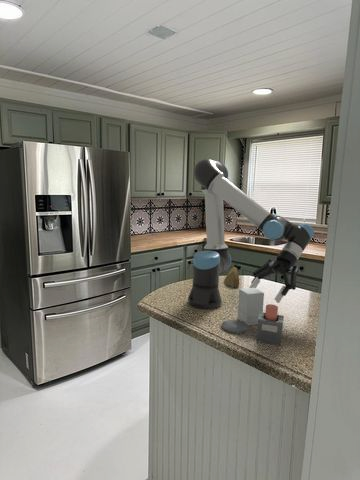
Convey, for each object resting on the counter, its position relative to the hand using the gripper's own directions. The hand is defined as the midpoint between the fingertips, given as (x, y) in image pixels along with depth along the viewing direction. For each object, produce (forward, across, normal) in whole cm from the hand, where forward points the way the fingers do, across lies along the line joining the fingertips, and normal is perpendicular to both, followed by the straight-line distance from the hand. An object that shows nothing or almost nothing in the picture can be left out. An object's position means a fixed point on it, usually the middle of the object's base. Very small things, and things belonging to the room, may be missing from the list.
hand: (262, 296), depth 128 cm
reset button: (+11, -13, +4) cm, 18 cm away
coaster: (+17, 0, +4) cm, 18 cm away
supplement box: (+11, +2, -4) cm, 11 cm away
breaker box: (+15, -13, +1) cm, 20 cm away
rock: (-8, +41, -23) cm, 48 cm away
